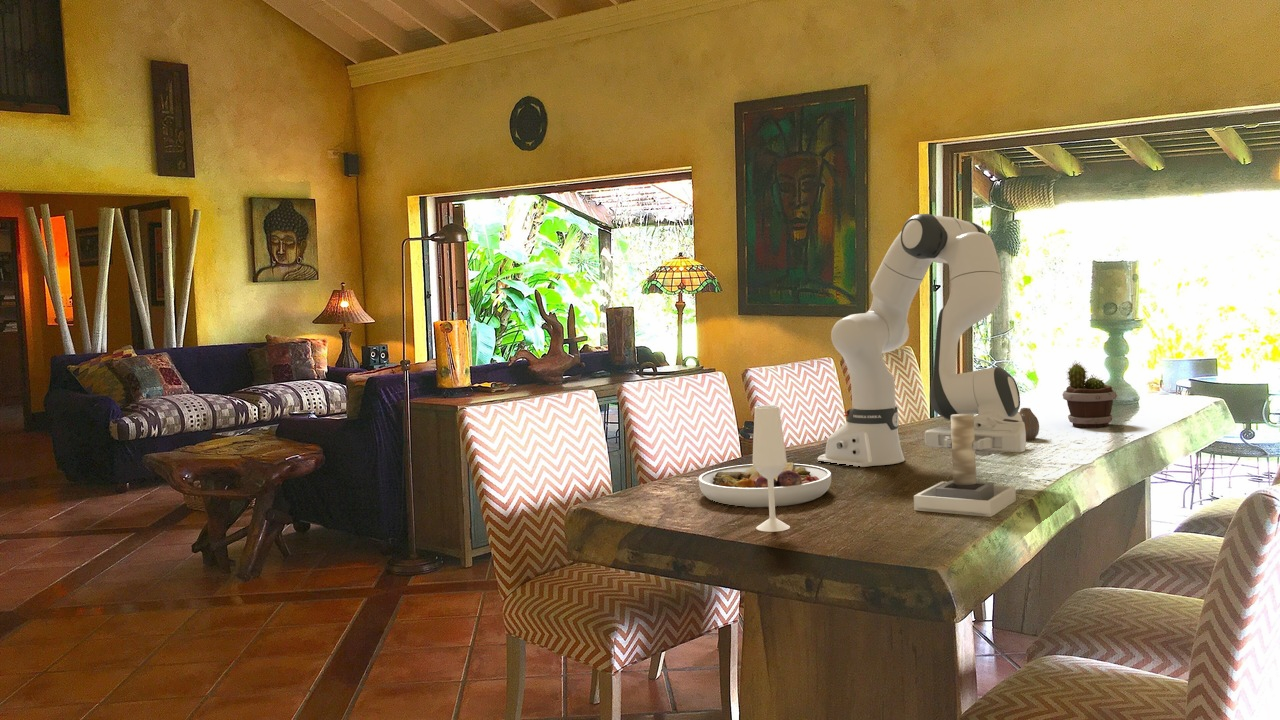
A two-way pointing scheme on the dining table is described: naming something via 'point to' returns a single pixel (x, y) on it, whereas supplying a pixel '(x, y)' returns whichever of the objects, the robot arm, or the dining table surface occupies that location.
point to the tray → (965, 498)
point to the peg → (963, 449)
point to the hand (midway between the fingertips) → (961, 444)
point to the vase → (1030, 423)
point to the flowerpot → (1088, 399)
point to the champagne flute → (769, 457)
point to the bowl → (764, 485)
